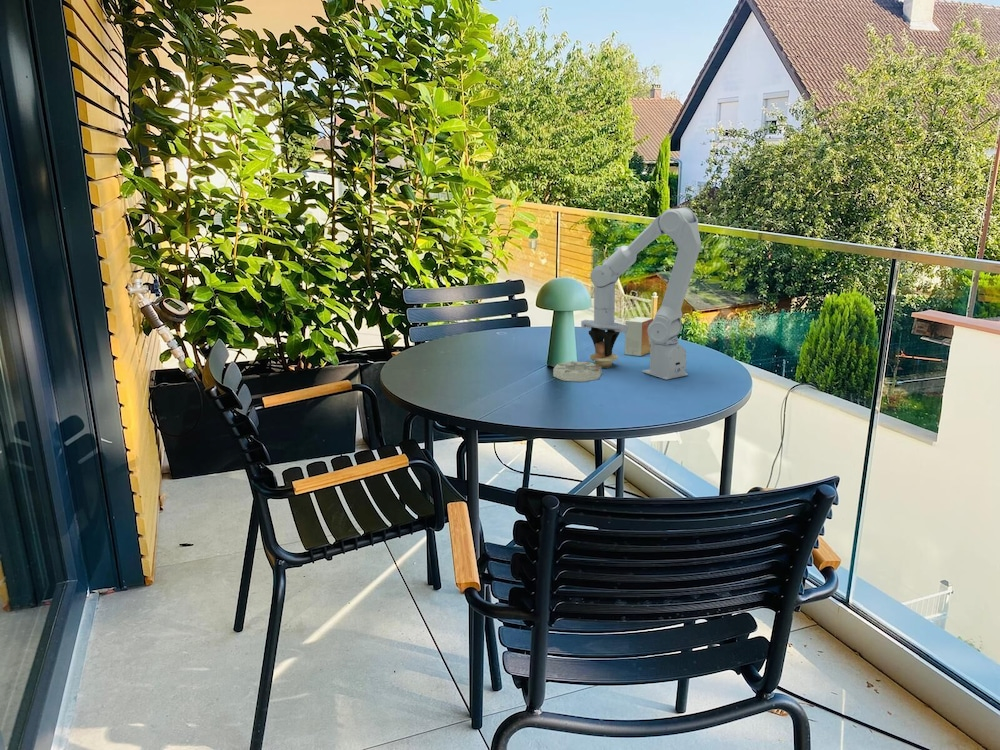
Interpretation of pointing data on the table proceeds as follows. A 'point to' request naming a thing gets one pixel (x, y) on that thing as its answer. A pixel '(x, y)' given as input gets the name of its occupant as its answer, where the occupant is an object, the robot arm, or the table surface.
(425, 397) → the table surface
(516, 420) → the table surface
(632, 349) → the small box
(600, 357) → the cap
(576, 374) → the flat stone slab
